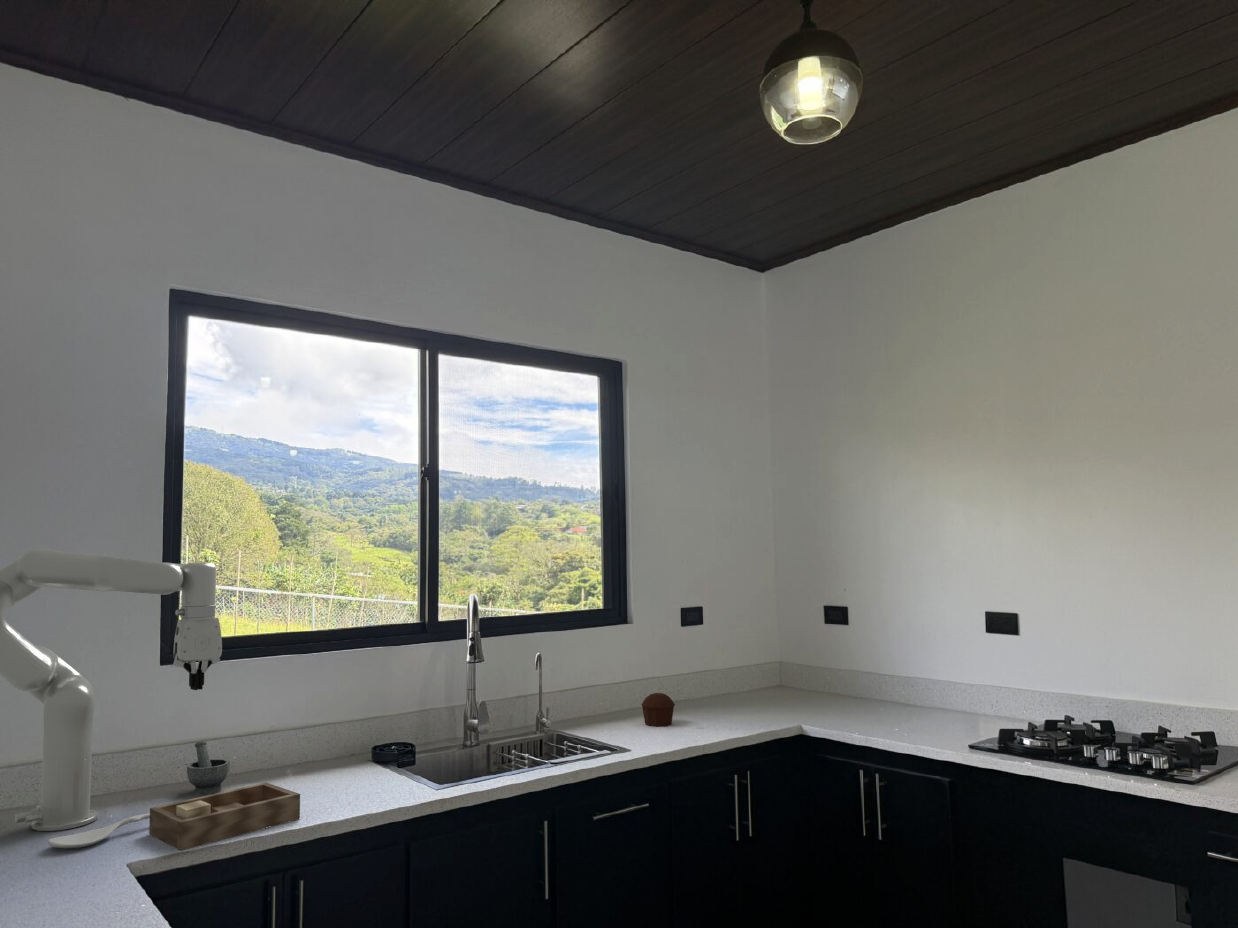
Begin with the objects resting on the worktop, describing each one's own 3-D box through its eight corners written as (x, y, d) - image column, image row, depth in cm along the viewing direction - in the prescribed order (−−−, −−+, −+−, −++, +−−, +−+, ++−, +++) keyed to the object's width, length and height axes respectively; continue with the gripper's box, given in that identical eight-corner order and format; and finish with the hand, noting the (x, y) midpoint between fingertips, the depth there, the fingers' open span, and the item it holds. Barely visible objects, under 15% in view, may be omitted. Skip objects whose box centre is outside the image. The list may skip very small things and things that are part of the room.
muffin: (639, 721, 300) (639, 691, 301) (671, 720, 301) (671, 690, 302) (644, 728, 288) (644, 697, 289) (678, 727, 290) (677, 696, 291)
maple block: (186, 829, 182) (186, 809, 183) (175, 825, 186) (176, 805, 186) (210, 823, 186) (210, 804, 187) (200, 819, 189) (200, 800, 190)
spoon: (214, 818, 201) (214, 802, 202) (57, 858, 176) (58, 841, 176) (195, 811, 207) (195, 796, 207) (40, 850, 182) (41, 832, 182)
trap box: (180, 850, 179) (180, 822, 179) (149, 834, 189) (149, 807, 190) (299, 818, 198) (300, 793, 199) (265, 805, 209) (266, 782, 209)
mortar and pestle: (235, 790, 223) (236, 742, 224) (197, 799, 216) (198, 748, 217) (215, 783, 230) (216, 736, 231) (178, 791, 223) (179, 742, 224)
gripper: (172, 615, 208) (170, 695, 206) (235, 611, 219) (233, 686, 218) (160, 614, 213) (157, 691, 211) (221, 610, 224) (220, 683, 222)
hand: (196, 688), depth 214 cm, fingers closed
